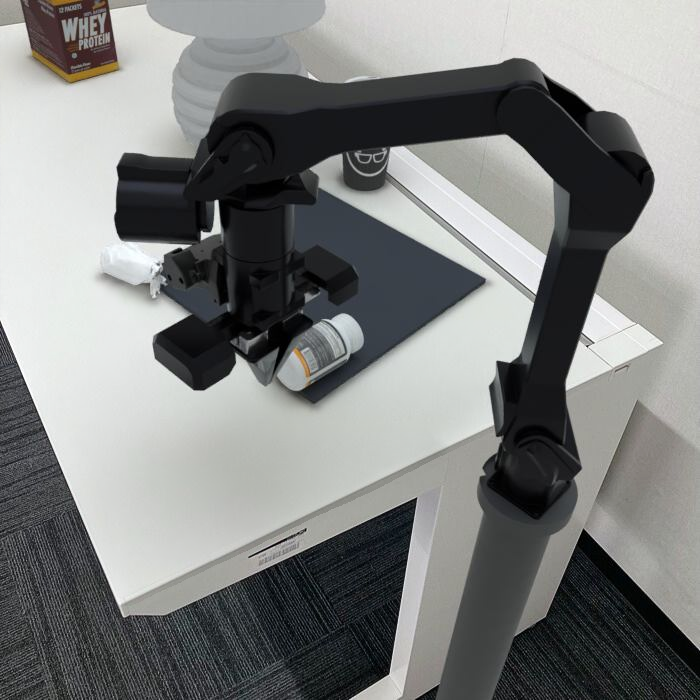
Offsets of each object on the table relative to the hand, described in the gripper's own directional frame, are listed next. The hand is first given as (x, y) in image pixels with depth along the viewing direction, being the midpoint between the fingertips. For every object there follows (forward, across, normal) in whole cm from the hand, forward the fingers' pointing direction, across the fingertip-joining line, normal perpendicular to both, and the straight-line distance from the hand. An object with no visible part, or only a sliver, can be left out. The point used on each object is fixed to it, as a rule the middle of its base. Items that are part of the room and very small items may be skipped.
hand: (264, 382), depth 73 cm
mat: (+12, -26, -19) cm, 34 cm away
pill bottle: (+8, -8, -7) cm, 14 cm away
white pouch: (+12, -8, -35) cm, 38 cm away
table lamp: (+12, -41, -51) cm, 67 cm away
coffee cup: (+12, -49, -32) cm, 60 cm away
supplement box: (+12, -40, -99) cm, 107 cm away
